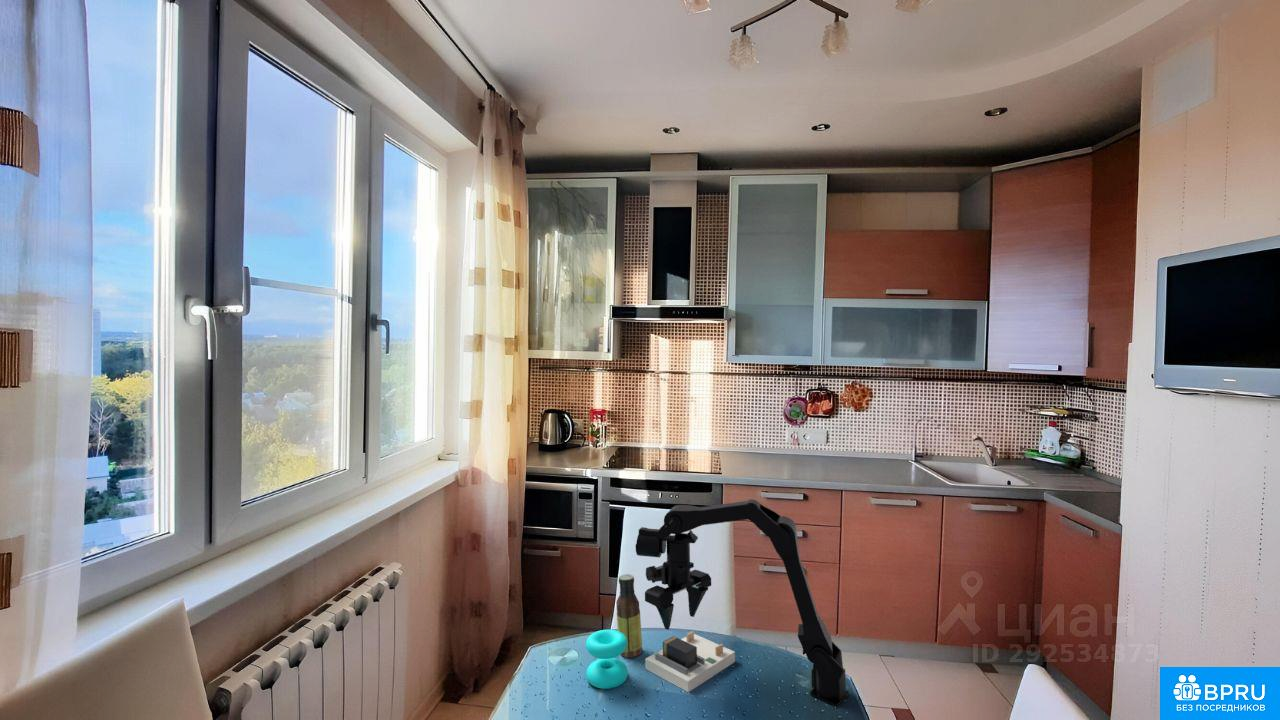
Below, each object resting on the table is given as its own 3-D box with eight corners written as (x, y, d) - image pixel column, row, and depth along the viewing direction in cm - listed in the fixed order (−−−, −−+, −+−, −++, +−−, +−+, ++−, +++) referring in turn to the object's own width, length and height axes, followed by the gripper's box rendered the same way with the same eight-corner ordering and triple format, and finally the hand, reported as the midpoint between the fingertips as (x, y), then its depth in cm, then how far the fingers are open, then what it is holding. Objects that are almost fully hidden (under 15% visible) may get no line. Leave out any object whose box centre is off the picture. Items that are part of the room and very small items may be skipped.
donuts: (634, 632, 131) (613, 651, 122) (635, 673, 131) (614, 695, 122) (599, 624, 136) (577, 642, 127) (600, 664, 136) (578, 684, 127)
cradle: (735, 661, 135) (734, 643, 135) (688, 692, 123) (687, 672, 123) (692, 642, 145) (692, 625, 145) (645, 668, 133) (645, 650, 133)
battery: (697, 663, 130) (696, 646, 130) (686, 670, 127) (685, 653, 127) (672, 651, 136) (672, 635, 136) (661, 657, 133) (661, 641, 133)
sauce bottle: (643, 647, 144) (641, 572, 144) (641, 659, 137) (639, 581, 138) (619, 646, 144) (617, 571, 145) (615, 658, 138) (614, 580, 138)
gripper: (679, 542, 144) (680, 601, 144) (628, 560, 131) (629, 624, 131) (712, 552, 136) (713, 614, 136) (661, 572, 123) (662, 640, 123)
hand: (679, 622), depth 132 cm, fingers open, 9 cm apart
